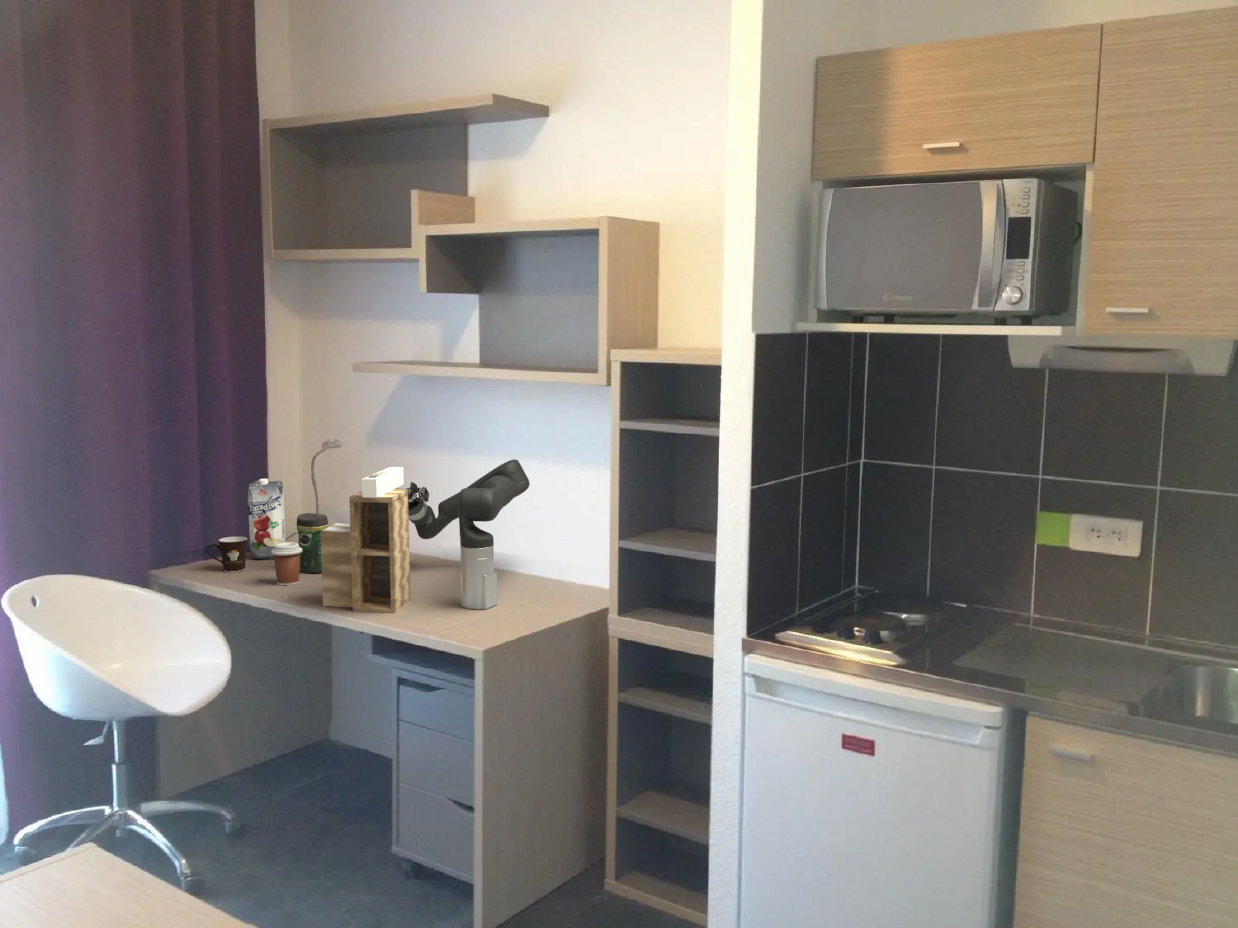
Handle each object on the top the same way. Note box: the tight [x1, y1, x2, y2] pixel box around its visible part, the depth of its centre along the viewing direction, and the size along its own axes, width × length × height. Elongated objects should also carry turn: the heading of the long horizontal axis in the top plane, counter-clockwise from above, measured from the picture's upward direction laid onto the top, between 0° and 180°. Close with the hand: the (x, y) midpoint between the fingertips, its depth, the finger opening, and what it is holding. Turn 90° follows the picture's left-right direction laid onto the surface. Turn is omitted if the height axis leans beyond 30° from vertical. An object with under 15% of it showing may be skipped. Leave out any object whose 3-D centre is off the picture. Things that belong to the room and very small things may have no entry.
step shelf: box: [321, 488, 411, 613], centre depth 304 cm, size 16×22×32 cm
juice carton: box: [247, 478, 286, 560], centre depth 363 cm, size 9×10×27 cm
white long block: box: [361, 466, 405, 498], centre depth 304 cm, size 24×4×5 cm, turn 174°
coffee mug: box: [206, 536, 248, 571], centre depth 346 cm, size 12×9×10 cm
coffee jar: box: [296, 512, 329, 574], centre depth 344 cm, size 10×8×19 cm
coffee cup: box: [271, 541, 302, 586], centre depth 329 cm, size 9×9×12 cm
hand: (397, 484), depth 316 cm, fingers open, 8 cm apart
